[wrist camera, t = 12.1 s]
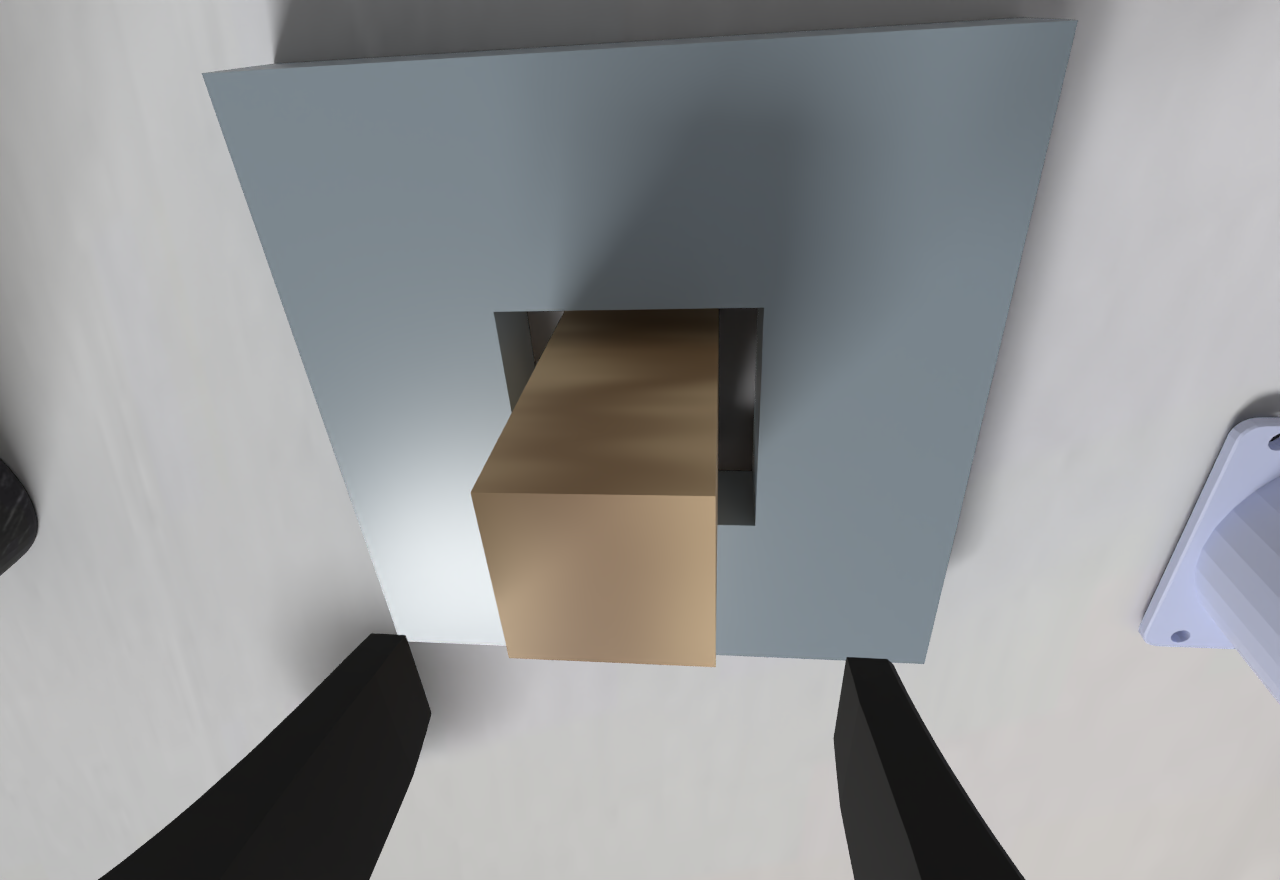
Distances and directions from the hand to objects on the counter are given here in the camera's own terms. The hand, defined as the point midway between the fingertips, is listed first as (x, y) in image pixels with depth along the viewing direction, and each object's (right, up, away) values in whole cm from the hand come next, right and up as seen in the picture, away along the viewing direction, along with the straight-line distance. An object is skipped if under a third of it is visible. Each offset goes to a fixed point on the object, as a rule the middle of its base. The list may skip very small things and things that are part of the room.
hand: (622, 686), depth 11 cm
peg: (0, +6, +7) cm, 9 cm away
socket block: (0, +6, +7) cm, 9 cm away
